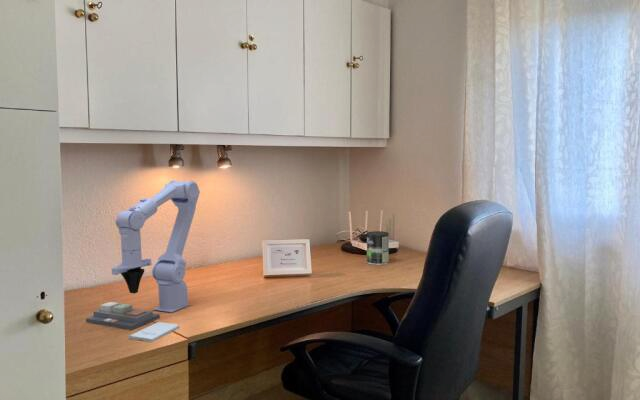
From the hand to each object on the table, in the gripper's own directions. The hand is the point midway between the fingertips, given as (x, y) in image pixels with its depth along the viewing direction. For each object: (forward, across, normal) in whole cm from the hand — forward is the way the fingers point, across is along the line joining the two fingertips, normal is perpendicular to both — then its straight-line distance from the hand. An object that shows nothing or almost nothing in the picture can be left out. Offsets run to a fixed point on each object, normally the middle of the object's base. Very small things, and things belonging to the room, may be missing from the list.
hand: (133, 292), depth 161 cm
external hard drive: (+10, +6, +13) cm, 17 cm away
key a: (+7, 0, -11) cm, 13 cm away
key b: (+7, 0, -5) cm, 8 cm away
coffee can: (+10, -108, +43) cm, 117 cm away
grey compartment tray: (+9, 0, -5) cm, 11 cm away
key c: (+8, 0, 0) cm, 8 cm away
